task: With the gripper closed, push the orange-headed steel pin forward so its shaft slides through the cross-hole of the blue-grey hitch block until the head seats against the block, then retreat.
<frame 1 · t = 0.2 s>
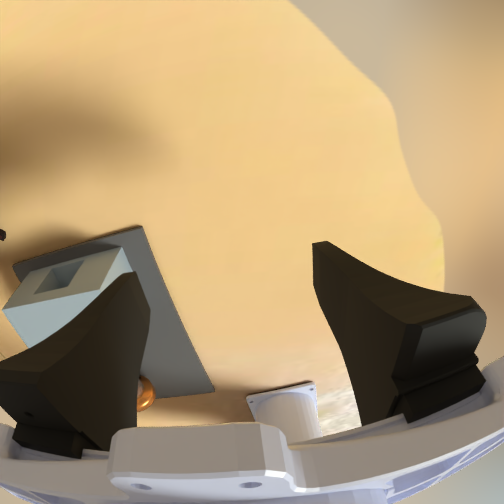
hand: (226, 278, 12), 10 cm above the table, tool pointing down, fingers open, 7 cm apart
hitch block: (87, 287, 23), resting on mat
pin: (112, 362, 24), point 3 cm above the table, slide at 0.0 cm
mat: (116, 337, 26), on the table
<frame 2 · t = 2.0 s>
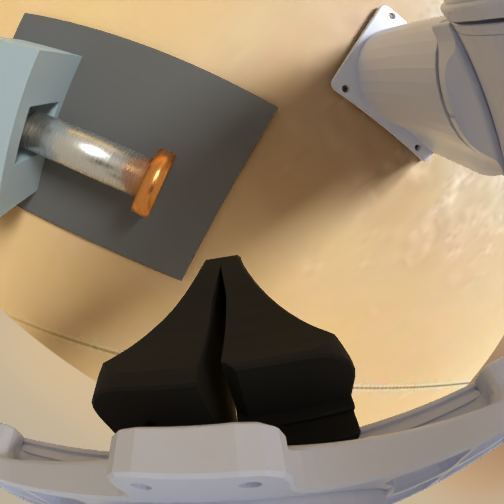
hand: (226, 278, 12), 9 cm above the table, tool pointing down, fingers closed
hitch block: (27, 113, 15), resting on mat
pin: (80, 150, 15), point 3 cm above the table, slide at 0.0 cm
mat: (91, 139, 17), on the table
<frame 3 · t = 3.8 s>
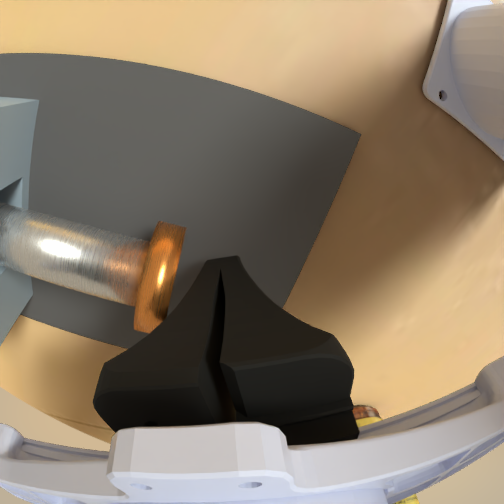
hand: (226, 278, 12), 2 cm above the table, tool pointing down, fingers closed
sauce bottle: (346, 418, 23), on the table
pin: (39, 245, 9), point 3 cm above the table, slide at 1.4 cm, touching gripper
mat: (85, 220, 12), on the table
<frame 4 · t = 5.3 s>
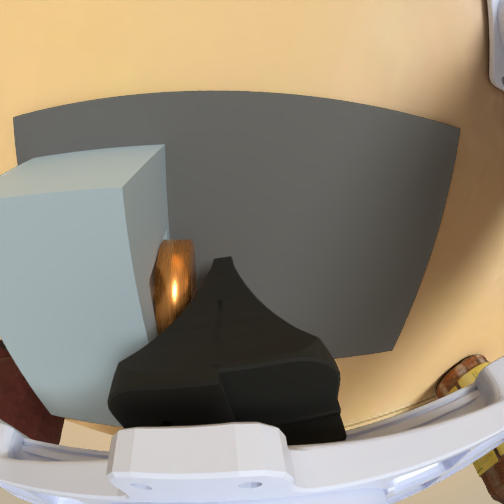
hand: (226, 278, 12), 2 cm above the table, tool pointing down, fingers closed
hitch block: (110, 256, 13), resting on mat
mate gourd: (31, 362, 17), on the table
sauce bottle: (459, 370, 22), on the table
pin: (61, 291, 10), point 3 cm above the table, slide at 7.9 cm, touching gripper
mat: (240, 255, 14), on the table
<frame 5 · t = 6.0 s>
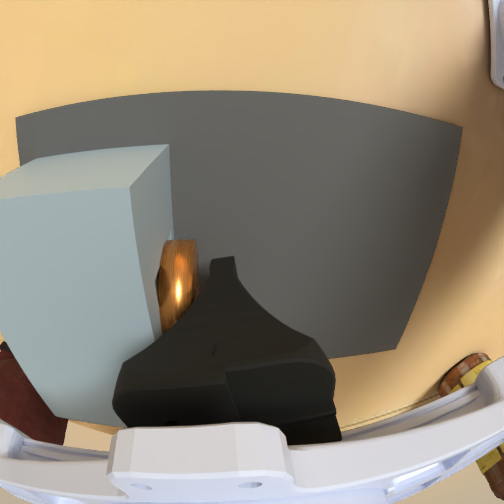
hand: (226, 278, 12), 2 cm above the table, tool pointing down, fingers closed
hitch block: (114, 256, 13), resting on mat
mate gourd: (34, 363, 17), on the table
sauce bottle: (462, 369, 22), on the table
pin: (63, 292, 11), point 3 cm above the table, slide at 8.0 cm, touching gripper, hitch block
mat: (244, 255, 14), on the table
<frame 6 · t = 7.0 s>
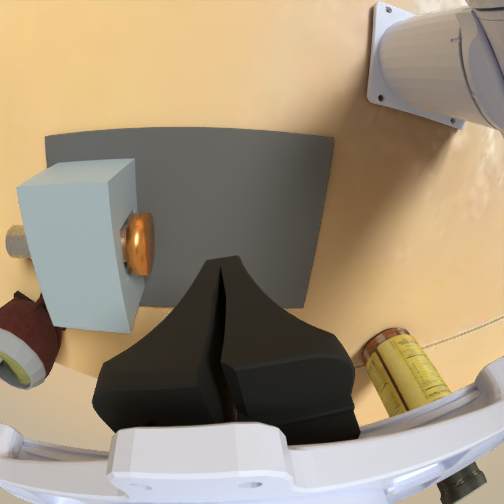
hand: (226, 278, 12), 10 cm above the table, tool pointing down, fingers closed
hitch block: (102, 225, 21), resting on mat
mate gourd: (38, 309, 24), on the table
sauce bottle: (385, 342, 30), on the table
pin: (73, 242, 18), point 3 cm above the table, slide at 7.7 cm
mat: (180, 226, 21), on the table
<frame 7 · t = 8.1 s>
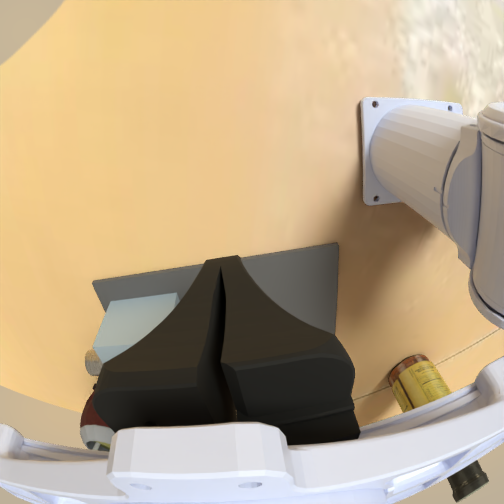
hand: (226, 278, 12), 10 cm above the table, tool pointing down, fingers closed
hitch block: (161, 337, 27), resting on mat
mate gourd: (116, 393, 31), on the table
sauce bottle: (407, 366, 34), on the table
pin: (144, 360, 24), point 3 cm above the table, slide at 7.7 cm
mat: (225, 329, 27), on the table
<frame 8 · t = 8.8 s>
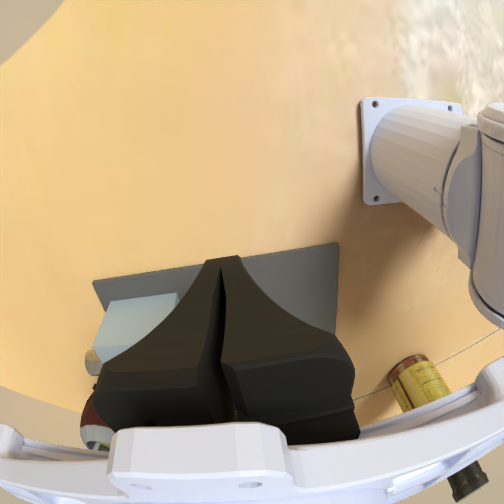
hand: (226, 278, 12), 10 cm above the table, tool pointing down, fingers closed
hitch block: (161, 337, 27), resting on mat
mate gourd: (116, 393, 31), on the table
sauce bottle: (407, 366, 34), on the table
pin: (144, 360, 24), point 3 cm above the table, slide at 7.7 cm
mat: (225, 329, 27), on the table
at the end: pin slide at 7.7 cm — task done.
